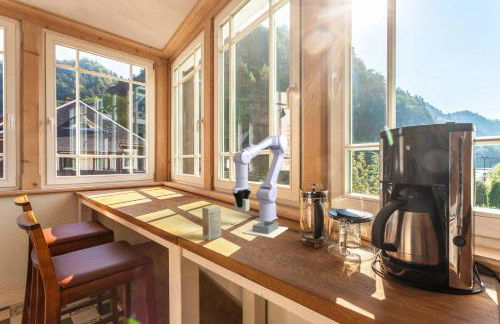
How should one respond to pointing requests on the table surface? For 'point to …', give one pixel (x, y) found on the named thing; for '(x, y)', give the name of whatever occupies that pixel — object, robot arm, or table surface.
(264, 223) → the slot holder
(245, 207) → the key block
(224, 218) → the table surface
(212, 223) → the skincare box
